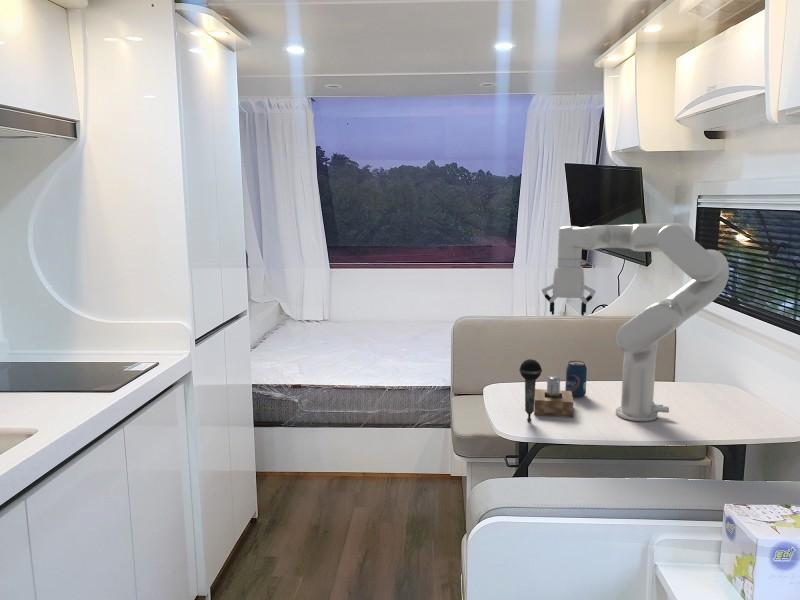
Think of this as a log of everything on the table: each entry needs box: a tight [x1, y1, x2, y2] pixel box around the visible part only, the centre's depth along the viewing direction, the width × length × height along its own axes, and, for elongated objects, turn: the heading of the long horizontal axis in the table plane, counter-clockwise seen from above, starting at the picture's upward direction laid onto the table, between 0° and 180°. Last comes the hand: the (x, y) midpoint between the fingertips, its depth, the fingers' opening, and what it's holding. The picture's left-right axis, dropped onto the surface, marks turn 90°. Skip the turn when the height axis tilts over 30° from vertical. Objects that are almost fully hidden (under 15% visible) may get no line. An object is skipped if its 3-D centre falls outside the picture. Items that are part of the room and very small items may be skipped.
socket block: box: [533, 388, 574, 418], centre depth 209 cm, size 12×12×5 cm
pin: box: [546, 375, 561, 398], centre depth 208 cm, size 4×4×10 cm
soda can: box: [564, 360, 588, 399], centre depth 223 cm, size 7×7×12 cm
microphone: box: [519, 358, 543, 423], centre depth 197 cm, size 7×7×20 cm
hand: (567, 314), depth 213 cm, fingers open, 9 cm apart
